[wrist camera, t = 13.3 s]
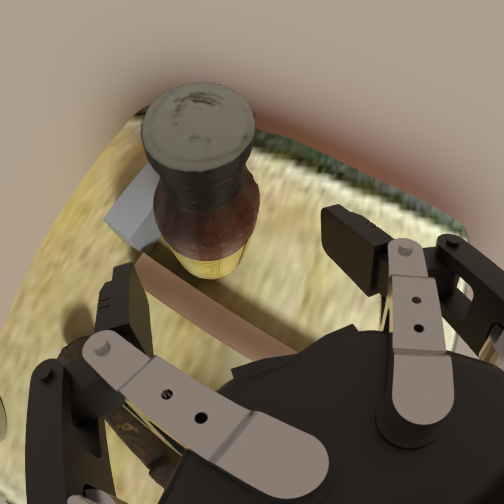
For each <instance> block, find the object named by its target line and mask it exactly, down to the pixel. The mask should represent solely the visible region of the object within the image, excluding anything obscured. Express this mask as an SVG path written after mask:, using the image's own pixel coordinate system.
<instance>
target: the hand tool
mask: <svg viewBox="0 0 504 504" xmlns="http://www.w3.org/2000/svg"><path fill="white" fill-rule="evenodd" d="M90 337H91V336H84V337H81V338H78V339H77V340H75V341H74V342H72V343H71V344H69V345H67V346H66V347H64V348H62V350H61V353H60V354H59V356H58V358H57V360H59V361H60V362H61V363H62V364H63V365H64V366H65V365H67V364H69V363H70V362H72V361H74V360H76V359H78V358H79V357H81V356H82V355H83V354H82V350H83V346H84V344H85V343H86V341H87V340H88V339H89V338H90ZM104 419H105V420H106V422H107V423H108V424H109V425H110V426H111V427H112V429H113V430H114V431H115V432H116V434H117V435H118V436H119V437H120V438H121V439H122V441H123V442H124V443H125V444H126V445H127V446H128V448H129V449H130V450H131V451H132V452H133V453H134V454H135V455H136V456H137V457H138V458H139V459H140V460H141V461H142V462H143V463H144V465H145V466H146V467H147V468H148V469H149V470H150V471H149V475H150V476H151V477H152V478H153V479H154V480H155V481H156V483H158V484H159V485H161V486H162V487H163V488H164V490H165V488H166V486H167V484H168V482H169V480H170V478H171V476H172V474H173V472H174V470H175V468H176V466H177V464H178V462H179V460H180V458H181V455H180V454H178V453H177V452H176V451H174V450H173V449H172V448H171V447H169V446H168V445H167V444H166V443H165V442H164V441H162V440H161V439H160V438H159V437H158V436H157V435H156V434H155V433H153V432H152V431H151V430H150V429H149V428H147V427H146V426H145V425H144V424H143V423H142V422H140V421H139V420H138V419H137V418H136V417H135V416H134V415H133V414H131V413H130V412H129V411H128V410H127V409H126V408H125V407H124V406H121V407H119V408H117V409H116V410H114V411H112V412H110V413H108V414H106V415H104Z"/></svg>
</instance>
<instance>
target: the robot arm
mask: <svg viewBox="0 0 504 504" xmlns="http://www.w3.org/2000/svg"><path fill="white" fill-rule="evenodd" d="M321 240H322V246H323V248H324V251H325V252H326V254H327V255H328V256H329V257H330V258H331V259H332V260H333V261H334V262H335V263H336V264H337V265H338V266H339V267H340V268H341V269H342V270H343V271H344V272H345V273H346V274H347V275H348V276H349V277H350V278H351V279H352V280H353V281H354V282H355V284H356V285H357V286H358V287H359V288H360V289H361V290H362V291H363V292H364V293H365V294H366V295H367V296H368V297H370V296H373V295H375V294H377V293H380V294H381V298H380V310H379V330H378V331H376V330H368V331H358V330H357V329H356V327H355V326H354V325H353V324H351V325H348V326H346V327H344V328H341V329H339V330H337V331H334V332H332V333H329V334H327V335H325V336H323V337H322V338H321V339H319V340H318V341H316V342H315V343H313V344H312V345H310V346H309V347H308V348H306V349H305V350H303V351H302V352H300V353H297V354H291V355H285V356H278V357H271V358H263V359H260V360H257V361H254V362H251V363H248V364H245V365H242V366H239V367H236V368H233V369H231V371H232V374H233V377H234V379H232V380H230V381H229V382H227V383H226V384H224V385H223V386H222V387H221V388H220V389H219V390H217V391H216V392H215V391H213V390H212V389H210V388H208V387H206V386H205V385H203V384H201V383H200V382H198V381H197V380H195V379H193V378H192V377H190V376H188V375H187V374H185V373H184V372H182V371H181V370H179V369H177V368H176V367H174V366H173V365H171V364H170V363H168V362H167V361H165V360H164V359H162V358H161V357H159V356H157V355H154V354H153V345H152V335H151V325H150V313H149V304H148V300H147V297H146V294H145V291H144V289H143V287H142V284H141V282H140V279H139V277H138V275H137V272H136V270H135V267H134V265H133V263H132V262H129V263H125V264H122V265H119V266H116V267H114V268H113V276H112V281H109V282H106V283H105V284H104V286H103V287H102V289H101V290H100V292H99V299H98V302H99V303H98V307H97V309H98V310H97V315H96V323H95V333H94V335H92V336H91V337H90V338H89V339H88V340H87V341H86V343H85V344H84V346H83V350H82V354H83V355H82V356H81V357H79V358H78V359H76V360H74V361H72V362H70V363H69V364H67V365H65V366H64V365H63V364H62V363H61V362H60V361H59V360H57V359H47V360H45V361H43V362H41V363H40V364H39V365H38V366H37V367H36V368H35V370H34V371H33V373H32V376H31V382H30V390H29V399H28V409H27V422H26V443H25V475H26V495H27V504H128V503H126V502H125V501H123V500H120V499H118V498H117V497H116V493H115V488H114V483H113V477H112V472H111V466H110V460H109V453H108V446H107V438H106V430H105V421H104V415H106V414H108V413H110V412H112V411H114V410H116V409H117V408H119V407H121V406H124V407H125V408H126V409H127V410H128V411H129V412H130V413H131V414H133V415H134V416H135V417H136V418H137V419H138V420H139V421H140V422H142V423H143V424H144V425H145V426H146V427H147V428H149V429H150V430H151V431H152V432H153V433H155V434H156V435H157V436H158V437H159V438H160V439H161V440H162V441H164V442H165V443H166V444H167V445H168V446H169V447H171V448H172V449H173V450H174V451H176V452H177V453H178V454H180V455H181V458H180V460H179V462H178V464H177V466H176V468H175V470H174V472H173V474H172V476H171V478H170V480H169V482H168V484H167V486H166V488H165V490H164V492H163V494H162V496H161V498H160V500H159V502H158V504H504V271H503V270H502V269H501V268H499V267H498V266H497V265H496V264H495V263H493V262H492V261H491V260H490V259H488V258H487V257H486V256H484V255H483V254H482V253H481V252H479V251H478V250H477V249H476V248H474V247H473V246H472V245H470V244H469V243H468V242H466V241H465V240H464V239H462V238H461V237H459V236H456V235H453V234H442V235H440V236H439V237H438V238H437V242H436V247H428V248H422V247H421V245H420V244H418V243H417V242H415V241H413V240H410V239H406V238H398V239H394V238H392V237H391V236H390V235H388V234H387V233H385V232H384V231H383V230H381V229H380V228H379V227H376V225H375V224H373V223H372V222H370V221H369V220H368V219H366V218H365V217H363V216H362V215H359V214H356V213H353V212H350V211H348V210H347V209H345V208H344V207H343V206H341V205H339V204H337V205H333V206H329V207H325V208H323V209H322V210H321ZM460 277H461V278H462V279H463V280H464V281H465V282H467V283H468V284H469V285H470V286H471V288H472V290H473V293H474V296H473V300H472V301H470V300H469V299H468V298H467V297H466V296H465V295H464V294H463V293H462V292H461V291H460V290H459V289H458V288H457V284H458V281H459V278H460ZM442 317H443V318H444V319H445V320H446V321H447V322H448V323H449V325H450V326H451V327H452V328H453V329H454V330H455V331H456V332H457V333H458V334H459V336H461V338H462V339H463V340H464V341H465V342H466V343H467V344H468V346H469V347H470V348H471V349H472V350H473V352H474V353H475V354H476V355H477V356H478V357H479V360H478V359H475V358H471V357H468V356H464V355H461V354H457V353H454V352H451V351H447V350H446V346H445V338H444V330H443V322H442ZM5 434H6V417H5V412H4V409H3V405H2V403H1V400H0V442H1V441H2V440H3V439H4V436H5Z"/></svg>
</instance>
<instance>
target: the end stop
mask: <svg viewBox="0 0 504 504" xmlns="http://www.w3.org/2000/svg"><path fill="white" fill-rule="evenodd" d="M159 179H160V175H159V174H158V173H156V172H155V170H154V169H153V168H152V166H151V165H150V163H149V162H148V163H147V164H146V165H145V166H144V167H143V169H142V170H141V171H140V172H139V173H138V175H137V176H136V177H135V178H134V179H133V181H132V182H131V183H130V184H129V186H128V187H127V188H126V189H125V191H124V192H123V193H122V194H121V196H120V197H119V198H118V199H117V201H116V202H115V203H114V205H113V206H112V207H111V209H110V210H109V211H108V213H107V214H106V215H105V217H104V218H103V220H104V221H105V222H106V223H107V225H108V226H109V227H110V228H111V229H112V230H113V231H114V232H115V233H116V234H117V235H118V236H119V237H120V238H121V239H122V240H123V241H124V242H126V243H127V244H128V245H130V246H131V247H132V248H134V249H135V250H137V251H138V252H139V253H141V254H142V253H145V254H146V255H148V254H149V252H150V251H151V249H152V248H153V246H154V245H155V244H156V242H157V241H158V239H159V238H160V237H161V233H160V231H159V229H158V227H157V224H156V221H155V217H154V211H153V198H154V193H155V190H156V187H157V184H158V182H159Z"/></svg>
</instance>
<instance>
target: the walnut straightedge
mask: <svg viewBox="0 0 504 504" xmlns="http://www.w3.org/2000/svg"><path fill="white" fill-rule="evenodd" d="M134 267H135V270H136V272H137V275H138V277H139V279H140V282H141V284H142V287H143V289H144V290H146V291H147V292H148V293H150V294H151V295H153V296H154V297H155V298H157V299H158V300H160V301H161V302H162V303H164V304H165V305H167V306H168V307H170V308H171V309H173V310H174V311H175V312H177V313H178V314H180V315H181V316H183V317H184V318H186V319H187V320H189V321H190V322H192V323H193V324H195V325H196V326H198V327H199V328H201V329H202V330H204V331H206V332H207V333H209V334H210V335H212V336H213V337H215V338H216V339H218V340H220V341H221V342H223V343H224V344H226V345H228V346H229V347H231V348H232V349H234V350H236V351H237V352H239V353H241V354H242V355H244V356H246V357H247V358H249V359H251V360H252V361H257V360H260V359H263V358H271V357H278V356H285V355H291V354H297V353H298V352H297V351H295V350H293V349H291V348H290V347H288V346H286V345H285V344H283V343H281V342H280V341H278V340H276V339H275V338H273V337H271V336H270V335H268V334H266V333H265V332H263V331H261V330H260V329H258V328H257V327H255V326H253V325H252V324H250V323H249V322H247V321H245V320H244V319H242V318H241V317H239V316H237V315H236V314H234V313H233V312H231V311H230V310H228V309H226V308H225V307H223V306H222V305H220V304H219V303H217V302H216V301H214V300H212V299H211V298H209V297H208V296H206V295H205V294H203V293H202V292H200V291H199V290H197V289H196V288H194V287H193V286H191V285H190V284H188V283H187V282H185V281H184V280H182V279H181V278H179V277H178V276H176V275H175V274H174V273H172V272H171V271H169V270H168V269H166V268H165V267H163V266H162V265H160V264H159V263H158V262H156V261H155V260H153V259H152V258H150V257H149V256H148V255H146V254H145V253H142V255H141V256H140V258H139V259H138V261H137V262H136V263H135V265H134Z"/></svg>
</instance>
